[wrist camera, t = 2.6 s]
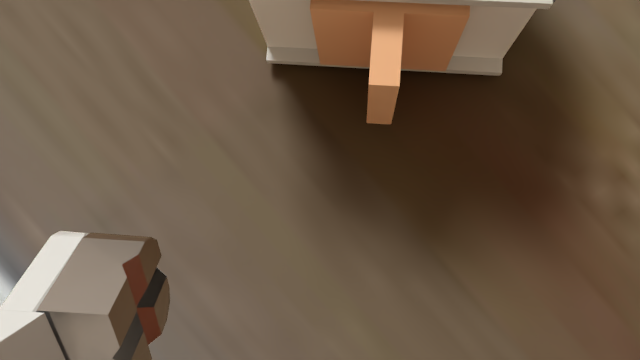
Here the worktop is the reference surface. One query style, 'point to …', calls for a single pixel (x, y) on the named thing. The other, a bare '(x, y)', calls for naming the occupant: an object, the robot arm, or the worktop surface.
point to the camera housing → (477, 37)
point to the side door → (386, 42)
